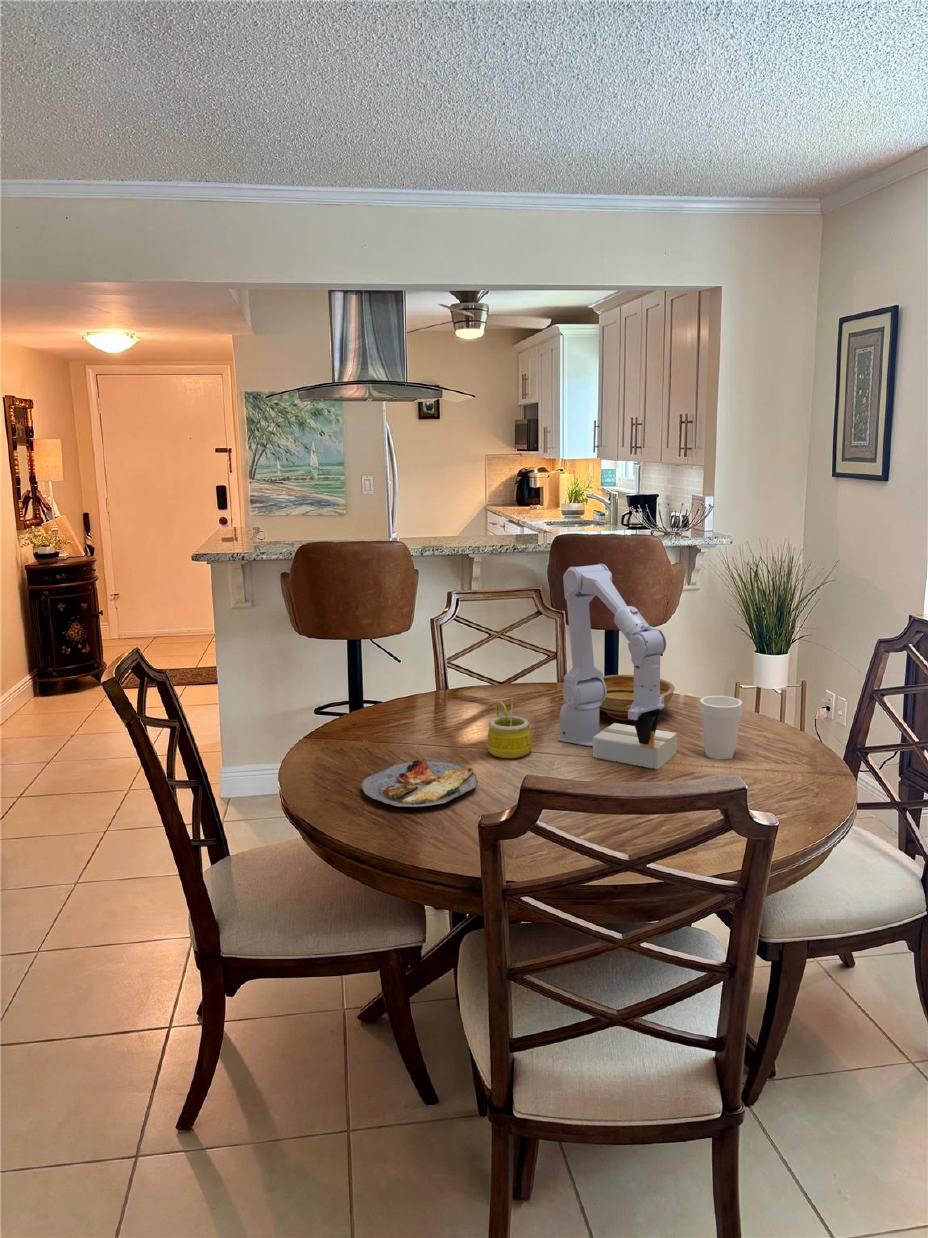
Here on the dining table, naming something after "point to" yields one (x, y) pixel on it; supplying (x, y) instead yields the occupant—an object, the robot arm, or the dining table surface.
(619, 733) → the carton
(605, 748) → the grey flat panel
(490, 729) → the yellow plant pot
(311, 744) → the dining table surface
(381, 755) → the dining table surface
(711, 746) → the foam cup
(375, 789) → the food plate
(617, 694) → the wooden bowl
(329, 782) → the dining table surface
